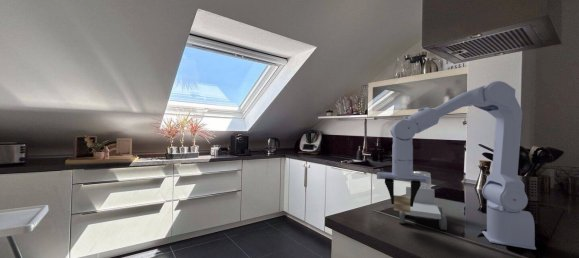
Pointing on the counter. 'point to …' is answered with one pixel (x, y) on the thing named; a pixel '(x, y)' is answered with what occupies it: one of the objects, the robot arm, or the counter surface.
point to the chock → (401, 203)
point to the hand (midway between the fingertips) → (402, 204)
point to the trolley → (425, 207)
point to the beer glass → (423, 185)
